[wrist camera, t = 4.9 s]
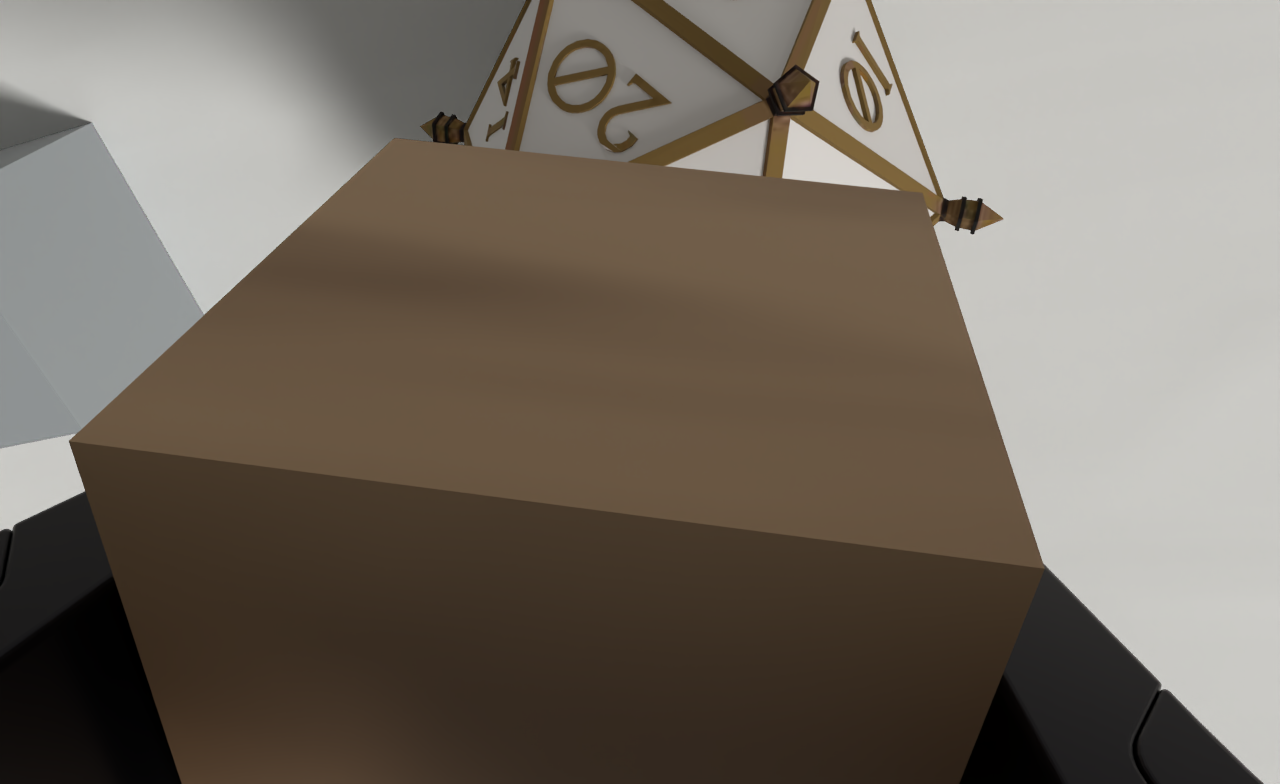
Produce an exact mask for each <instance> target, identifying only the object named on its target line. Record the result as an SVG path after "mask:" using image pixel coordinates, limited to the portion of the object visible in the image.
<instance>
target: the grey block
mask: <svg viewBox="0 0 1280 784" xmlns="http://www.w3.org/2000/svg"><path fill="white" fill-rule="evenodd" d="M203 316H204V314H203V312H202V311H201V309H200V307H199V305H198V304H197V302H196V300H195V299H194V297H193V295H192V293H191V292H190V290H189V288H188V287H187V285H186V283H185V281H184V280H183V278H182V276H181V275H180V273H179V271H178V269H177V268H176V266H175V264H174V263H173V261H172V259H171V257H170V256H169V254H168V252H167V251H166V249H165V247H164V245H163V244H162V242H161V240H160V238H159V237H158V235H157V233H156V232H155V230H154V228H153V226H152V225H151V223H150V221H149V220H148V218H147V216H146V214H145V213H144V211H143V209H142V208H141V206H140V204H139V202H138V201H137V199H136V197H135V196H134V194H133V192H132V190H131V189H130V187H129V185H128V184H127V182H126V180H125V178H124V177H123V175H122V173H121V171H120V170H119V168H118V166H117V165H116V163H115V161H114V159H113V158H112V156H111V154H110V153H109V151H108V149H107V147H106V146H105V144H104V142H103V141H102V139H101V137H100V135H99V134H98V132H97V130H96V129H95V127H94V125H93V123H89V124H86V125H82V126H79V127H75V128H72V129H69V130H65V131H62V132H59V133H55V134H52V135H49V136H45V137H42V138H39V139H35V140H32V141H29V142H25V143H22V144H19V145H15V146H12V147H8V148H5V149H2V150H0V448H5V447H10V446H15V445H20V444H25V443H30V442H35V441H40V440H45V439H50V438H55V437H61V436H66V435H71V434H76V433H78V432H79V431H80V430H81V429H82V428H83V427H85V426H86V425H87V424H88V423H89V422H90V421H91V420H92V419H93V418H94V417H95V416H96V415H97V414H98V413H100V412H101V411H102V410H103V409H104V408H105V407H106V406H107V405H108V404H109V403H110V402H111V401H112V400H114V399H115V398H116V397H117V396H118V395H119V394H120V393H121V392H122V391H123V390H124V389H125V388H126V387H127V386H129V385H130V384H131V383H132V382H133V381H134V380H135V379H136V378H137V377H138V376H139V375H140V374H141V373H143V372H144V371H145V370H146V369H147V368H148V367H149V366H150V365H151V364H152V363H153V362H154V361H155V360H156V359H158V358H159V357H160V356H161V355H162V354H163V353H164V352H165V351H166V350H167V349H168V348H169V347H170V346H172V345H173V344H174V343H175V342H176V341H177V340H178V339H179V338H180V337H181V336H182V335H183V334H184V333H185V332H187V331H188V330H189V329H190V328H191V327H192V326H193V325H194V324H195V323H196V322H197V321H198V320H199V319H201V318H202V317H203Z"/></svg>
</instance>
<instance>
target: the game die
mask: <svg viewBox="0 0 1280 784" xmlns="http://www.w3.org/2000/svg"><path fill="white" fill-rule="evenodd" d="M420 127H421V128H422V129H423V130H424V131H425V132H426V133H427V134H428V135H429V136H430V137H431V138H432V139H433V142H437V143H446V144H456V145H457V144H458V142H464V145H466V146H475V147H485V148H495V149H504V150H514V151H524V152H533V153H543V154H552V155H562V156H572V157H581V158H591V159H601V160H610V161H620V162H630V163H639V164H649V165H659V166H668V167H678V168H688V169H697V170H707V171H716V172H726V173H736V174H745V175H755V176H765V177H774V178H784V179H794V180H803V181H813V182H823V183H832V184H842V185H851V186H861V187H871V188H880V189H890V190H900V191H909V192H919V193H923V196H924V199H925V203H926V206H927V209H928V212H929V215H930V218H931V221H932V224H933V226H934V225H935V224H936V223H937V222H939V221H945V222H947V223H949V224H951V225H953V226H955V230H957V231H959V228H963V229H968V230H971V232H970V234H974V232H975V230H978V229H980V228H983V227H985V226H988V225H990V224H993V223H995V222H998V221H1000V220H1003V218H1002V217H1001V216H999V215H998V214H997V213H995V212H994V211H993V210H991V209H990V208H989V207H987V206H986V205H985V204H984V203H982V201H983V199H981V198H978V200H977V201H973V200H966V199H967V198H966V197H962V199H960V200H950V201H949V200H947V199H945V198H943V195H942V192H941V189H940V187H939V184H938V181H937V179H936V176H935V173H934V170H933V168H932V165H931V162H930V159H929V157H928V154H927V151H926V149H925V146H924V143H923V140H922V138H921V135H920V132H919V130H918V127H917V124H916V121H915V119H914V116H913V113H912V110H911V108H910V105H909V102H908V100H907V97H906V94H905V91H904V89H903V86H902V83H901V81H900V78H899V75H898V72H897V70H896V67H895V64H894V61H893V59H892V56H891V53H890V51H889V48H888V45H887V42H886V40H885V37H884V34H883V31H882V29H881V26H880V23H879V21H878V18H877V15H876V12H875V10H874V7H873V4H872V2H871V0H526V2H525V4H524V6H523V8H522V10H521V12H520V14H519V16H518V18H517V20H516V23H515V25H514V27H513V29H512V31H511V33H510V35H509V37H508V39H507V41H506V43H505V45H504V47H503V49H502V51H501V53H500V55H499V57H498V60H497V62H496V64H495V66H494V68H493V70H492V72H491V74H490V76H489V78H488V80H487V82H486V84H485V86H484V88H483V90H482V92H481V95H480V97H479V99H478V101H477V103H476V105H475V107H474V109H473V111H472V113H471V115H470V117H469V119H468V121H467V123H463V122H462V121H460V120H458V119H457V117H456V115H453V114H452V116H451V117H448V116H445V114H444V113H443V112H440V113H439V115H438V116H437V117H436V118H434V119H432V120H430V121H429V122H427V123H425V124H423V125H421V126H420Z"/></svg>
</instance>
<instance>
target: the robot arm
mask: <svg viewBox="0 0 1280 784" xmlns="http://www.w3.org/2000/svg"><path fill="white" fill-rule="evenodd" d="M1043 565H1044V564H1043ZM1044 568H1045V569H1044V572H1043V574H1042V577H1041V579H1040V582H1039V584H1038V587H1037V589H1036V592H1035V594H1034V597H1033V599H1032V602H1031V604H1030V607H1029V609H1028V612H1027V614H1026V617H1025V619H1024V622H1023V624H1022V627H1021V630H1020V632H1019V635H1018V637H1017V640H1016V642H1015V645H1014V647H1013V650H1012V652H1011V655H1010V657H1009V660H1008V662H1007V665H1006V667H1005V670H1004V672H1003V675H1002V677H1001V680H1000V682H999V685H998V687H997V690H996V692H995V695H994V697H993V700H992V702H991V705H990V707H989V710H988V712H987V715H986V717H985V720H984V722H983V725H982V728H981V730H980V733H979V735H978V738H977V740H976V743H975V745H974V748H973V750H972V753H971V755H970V758H969V760H968V763H967V765H966V768H965V770H964V773H963V775H962V778H961V780H960V783H959V784H1264V783H1263V782H1261V781H1260V780H1259V779H1258V778H1257V777H1256V776H1255V775H1254V774H1253V773H1252V772H1251V771H1250V770H1249V769H1247V768H1246V767H1245V766H1244V765H1243V764H1242V763H1241V762H1240V761H1239V760H1238V759H1237V758H1236V757H1235V756H1234V755H1233V754H1232V753H1231V752H1230V751H1229V750H1228V749H1227V748H1226V747H1225V746H1224V745H1223V744H1222V743H1221V742H1220V741H1219V740H1218V739H1217V738H1216V737H1215V736H1214V735H1213V734H1212V733H1211V732H1209V731H1208V730H1207V729H1206V728H1205V727H1204V726H1203V725H1202V724H1201V723H1200V722H1199V721H1198V720H1197V719H1196V718H1195V717H1194V716H1193V715H1192V714H1191V713H1190V712H1189V711H1188V710H1187V709H1186V708H1185V706H1184V705H1183V704H1182V703H1181V702H1180V701H1179V700H1178V699H1177V698H1176V697H1175V696H1174V695H1173V694H1172V693H1171V692H1170V691H1168V690H1166V689H1163V690H1161V691H1160V689H1161V683H1160V682H1159V681H1158V680H1157V678H1156V677H1155V676H1154V675H1153V674H1152V673H1151V672H1150V671H1149V670H1148V669H1147V668H1146V667H1145V666H1144V665H1143V664H1142V663H1141V662H1140V661H1139V660H1138V659H1137V658H1136V657H1135V656H1134V655H1133V654H1132V653H1131V652H1130V651H1129V650H1128V649H1127V648H1126V647H1125V646H1124V645H1123V644H1122V643H1121V642H1120V641H1119V640H1118V639H1117V638H1116V637H1115V636H1114V635H1113V634H1112V633H1111V632H1110V631H1109V630H1108V629H1107V628H1106V627H1105V626H1104V625H1103V624H1102V623H1101V622H1100V621H1099V620H1098V619H1097V618H1096V616H1095V615H1094V614H1093V613H1092V612H1091V611H1090V610H1089V609H1088V608H1087V607H1086V606H1085V605H1084V604H1083V603H1082V602H1081V601H1080V600H1079V599H1078V598H1077V597H1076V596H1075V595H1074V594H1073V593H1072V592H1071V591H1070V590H1069V589H1068V588H1067V587H1066V586H1065V585H1064V584H1063V583H1062V582H1061V581H1060V580H1059V579H1058V578H1057V577H1056V576H1055V575H1054V574H1053V573H1052V572H1051V571H1050V570H1049V569H1048V568H1047V567H1046V566H1045V565H1044ZM1159 691H1160V692H1159ZM0 784H182V783H181V780H180V777H179V774H178V771H177V768H176V765H175V762H174V759H173V756H172V753H171V750H170V747H169V744H168V741H167V738H166V735H165V732H164V728H163V725H162V722H161V719H160V716H159V713H158V710H157V707H156V704H155V701H154V698H153V695H152V692H151V689H150V686H149V683H148V680H147V677H146V674H145V671H144V668H143V665H142V662H141V659H140V656H139V652H138V649H137V646H136V643H135V640H134V637H133V634H132V631H131V628H130V625H129V622H128V619H127V616H126V613H125V610H124V607H123V604H122V601H121V598H120V595H119V592H118V589H117V586H116V583H115V580H114V577H113V573H112V570H111V567H110V564H109V561H108V558H107V555H106V552H105V549H104V546H103V543H102V540H101V537H100V534H99V531H98V528H97V525H96V522H95V519H94V516H93V513H92V510H91V507H90V504H89V501H88V498H87V494H86V491H85V492H83V493H81V494H78V495H76V496H74V497H72V498H70V499H68V500H66V501H64V502H61V503H59V504H57V505H55V506H53V507H51V508H49V509H47V510H45V511H42V512H40V513H38V514H36V515H34V516H32V517H30V518H28V519H25V520H23V521H21V522H19V523H17V524H15V525H14V527H13V530H12V531H11V530H9V529H4V530H2V531H0Z"/></svg>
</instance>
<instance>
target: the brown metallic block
mask: <svg viewBox="0 0 1280 784" xmlns="http://www.w3.org/2000/svg"><path fill="white" fill-rule="evenodd" d="M69 443H70V446H71V449H72V452H73V455H74V458H75V461H76V464H77V467H78V470H79V473H80V476H81V479H82V482H83V485H84V488H85V491H86V494H87V498H88V501H89V504H90V507H91V510H92V513H93V516H94V519H95V522H96V525H97V528H98V531H99V534H100V537H101V540H102V543H103V546H104V549H105V552H106V555H107V558H108V561H109V564H110V567H111V570H112V573H113V577H114V580H115V583H116V586H117V589H118V592H119V595H120V598H121V601H122V604H123V607H124V610H125V613H126V616H127V619H128V622H129V625H130V628H131V631H132V634H133V637H134V640H135V643H136V646H137V649H138V652H139V656H140V659H141V662H142V665H143V668H144V671H145V674H146V677H147V680H148V683H149V686H150V689H151V692H152V695H153V698H154V701H155V704H156V707H157V710H158V713H159V716H160V719H161V722H162V725H163V728H164V732H165V735H166V738H167V741H168V744H169V747H170V750H171V753H172V756H173V759H174V762H175V765H176V768H177V771H178V774H179V777H180V780H181V783H182V784H959V783H960V780H961V778H962V775H963V773H964V770H965V768H966V765H967V763H968V760H969V758H970V755H971V753H972V750H973V748H974V745H975V743H976V740H977V738H978V735H979V733H980V730H981V728H982V725H983V722H984V720H985V717H986V715H987V712H988V710H989V707H990V705H991V702H992V700H993V697H994V695H995V692H996V690H997V687H998V685H999V682H1000V680H1001V677H1002V675H1003V672H1004V670H1005V667H1006V665H1007V662H1008V660H1009V657H1010V655H1011V652H1012V650H1013V647H1014V645H1015V642H1016V640H1017V637H1018V635H1019V632H1020V630H1021V627H1022V624H1023V622H1024V619H1025V617H1026V614H1027V612H1028V609H1029V607H1030V604H1031V602H1032V599H1033V597H1034V594H1035V592H1036V589H1037V587H1038V584H1039V582H1040V579H1041V577H1042V574H1043V572H1044V569H1045V568H1044V565H1043V562H1042V559H1041V556H1040V553H1039V550H1038V547H1037V543H1036V540H1035V537H1034V534H1033V531H1032V528H1031V525H1030V522H1029V519H1028V516H1027V513H1026V510H1025V507H1024V504H1023V500H1022V497H1021V494H1020V491H1019V488H1018V485H1017V482H1016V479H1015V476H1014V473H1013V470H1012V467H1011V464H1010V461H1009V457H1008V454H1007V451H1006V448H1005V445H1004V442H1003V439H1002V436H1001V433H1000V430H999V427H998V424H997V421H996V418H995V414H994V411H993V408H992V405H991V402H990V399H989V396H988V393H987V390H986V387H985V384H984V381H983V378H982V375H981V371H980V368H979V365H978V362H977V359H976V356H975V353H974V350H973V347H972V344H971V341H970V338H969V335H968V332H967V328H966V325H965V322H964V319H963V316H962V313H961V310H960V307H959V304H958V301H957V298H956V295H955V292H954V289H953V285H952V282H951V279H950V276H949V273H948V270H947V267H946V264H945V261H944V258H943V255H942V252H941V249H940V246H939V242H938V239H937V236H936V233H935V230H934V227H933V224H932V221H931V218H930V215H929V212H928V209H927V206H926V203H925V199H924V196H923V193H919V192H909V191H900V190H890V189H880V188H871V187H861V186H851V185H842V184H832V183H823V182H813V181H803V180H794V179H784V178H774V177H765V176H755V175H745V174H736V173H726V172H716V171H707V170H697V169H688V168H678V167H668V166H659V165H649V164H639V163H630V162H620V161H610V160H601V159H591V158H581V157H572V156H562V155H552V154H543V153H533V152H524V151H514V150H504V149H495V148H485V147H475V146H466V145H456V144H446V143H437V142H427V141H417V140H408V139H398V138H394V139H393V140H392V141H391V142H390V143H388V144H387V145H386V146H385V147H384V148H383V149H382V150H381V151H380V152H379V153H378V154H377V155H376V156H375V157H373V158H372V159H371V160H370V161H369V162H368V163H367V164H366V165H365V166H364V167H363V168H362V169H361V170H359V171H358V172H357V173H356V174H355V175H354V176H353V177H352V178H351V179H350V180H349V181H348V182H347V183H346V184H344V185H343V186H342V187H341V188H340V189H339V190H338V191H337V192H336V193H335V194H334V195H333V196H332V197H330V198H329V199H328V200H327V201H326V202H325V203H324V204H323V205H322V206H321V207H320V208H319V209H318V210H317V211H315V212H314V213H313V214H312V215H311V216H310V217H309V218H308V219H307V220H306V221H305V222H304V223H303V224H301V225H300V226H299V227H298V228H297V229H296V230H295V231H294V232H293V233H292V234H291V235H290V236H289V237H288V238H286V239H285V240H284V241H283V242H282V243H281V244H280V245H279V246H278V247H277V248H276V249H275V250H274V251H272V252H271V253H270V254H269V255H268V256H267V257H266V258H265V259H264V260H263V261H262V262H261V263H260V264H259V265H257V266H256V267H255V268H254V269H253V270H252V271H251V272H250V273H249V274H248V275H247V276H246V277H245V278H243V279H242V280H241V281H240V282H239V283H238V284H237V285H236V286H235V287H234V288H233V289H232V290H231V291H230V292H228V293H227V294H226V295H225V296H224V297H223V298H222V299H221V300H220V301H219V302H218V303H217V304H216V305H214V306H213V307H212V308H211V309H210V310H209V311H208V312H207V313H206V314H205V315H204V316H203V317H202V318H201V319H199V320H198V321H197V322H196V323H195V324H194V325H193V326H192V327H191V328H190V329H189V330H188V331H187V332H185V333H184V334H183V335H182V336H181V337H180V338H179V339H178V340H177V341H176V342H175V343H174V344H173V345H172V346H170V347H169V348H168V349H167V350H166V351H165V352H164V353H163V354H162V355H161V356H160V357H159V358H158V359H156V360H155V361H154V362H153V363H152V364H151V365H150V366H149V367H148V368H147V369H146V370H145V371H144V372H143V373H141V374H140V375H139V376H138V377H137V378H136V379H135V380H134V381H133V382H132V383H131V384H130V385H129V386H127V387H126V388H125V389H124V390H123V391H122V392H121V393H120V394H119V395H118V396H117V397H116V398H115V399H114V400H112V401H111V402H110V403H109V404H108V405H107V406H106V407H105V408H104V409H103V410H102V411H101V412H100V413H98V414H97V415H96V416H95V417H94V418H93V419H92V420H91V421H90V422H89V423H88V424H87V425H86V426H85V427H83V428H82V429H81V430H80V431H79V432H78V433H77V434H76V435H75V436H74V437H73V438H72V439H71V440H69Z"/></svg>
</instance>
